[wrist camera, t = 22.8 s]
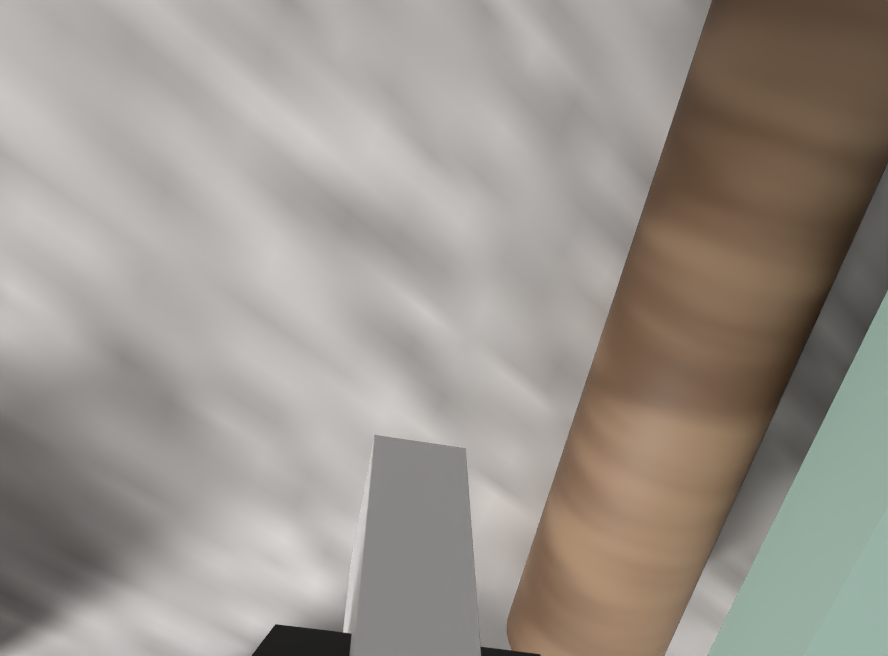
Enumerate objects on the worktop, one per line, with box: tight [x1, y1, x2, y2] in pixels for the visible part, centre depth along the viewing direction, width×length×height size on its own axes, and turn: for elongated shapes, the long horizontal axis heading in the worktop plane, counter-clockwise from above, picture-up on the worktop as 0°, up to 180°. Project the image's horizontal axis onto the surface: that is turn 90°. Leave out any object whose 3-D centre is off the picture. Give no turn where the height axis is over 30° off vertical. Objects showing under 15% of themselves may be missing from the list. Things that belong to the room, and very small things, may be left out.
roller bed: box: [507, 0, 888, 656], centre depth 25 cm, size 22×17×5 cm
